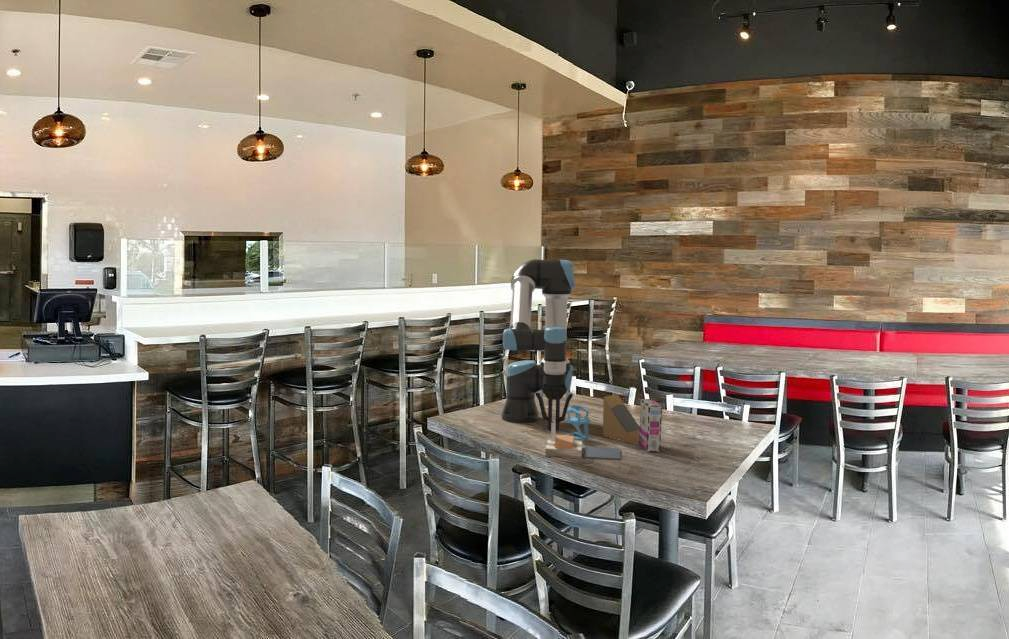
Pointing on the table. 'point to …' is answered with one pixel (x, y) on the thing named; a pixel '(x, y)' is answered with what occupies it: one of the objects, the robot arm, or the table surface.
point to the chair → (578, 422)
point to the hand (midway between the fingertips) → (553, 440)
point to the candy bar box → (650, 425)
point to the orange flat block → (564, 441)
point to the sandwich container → (619, 420)
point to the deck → (564, 450)
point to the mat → (602, 452)
